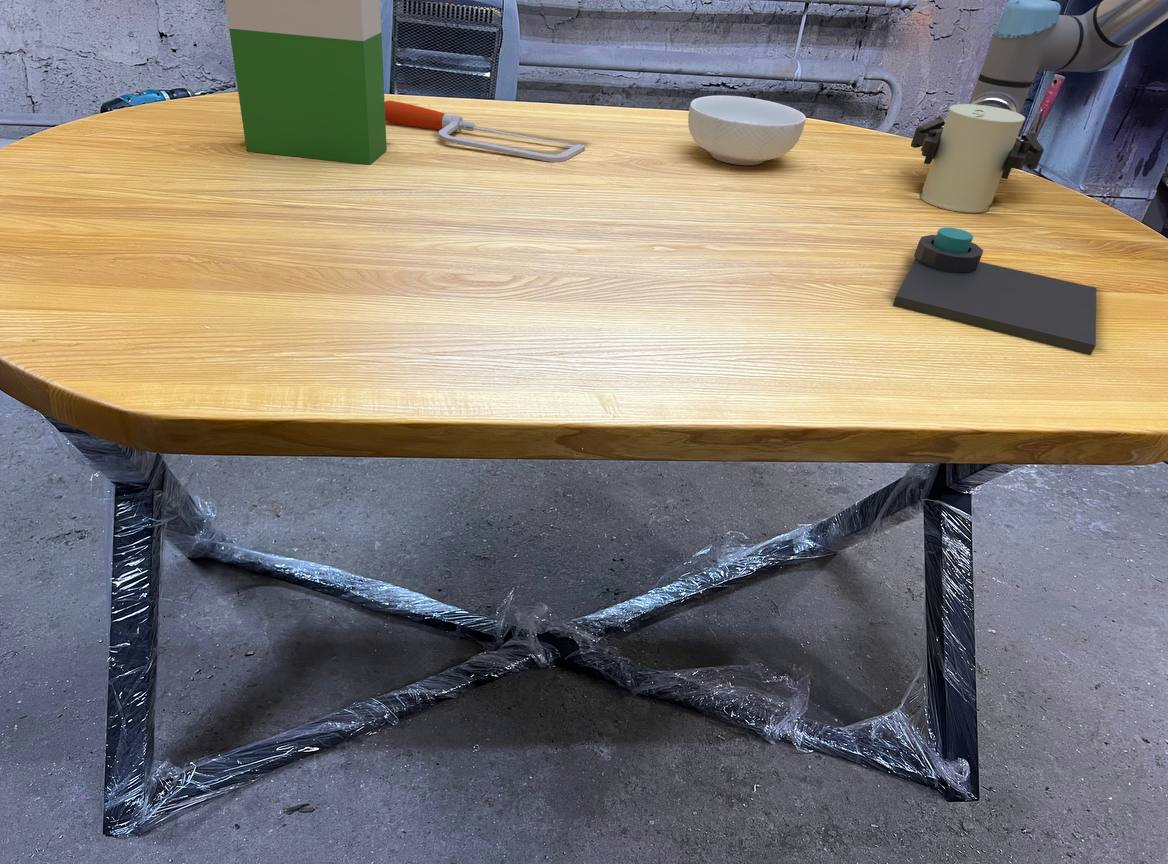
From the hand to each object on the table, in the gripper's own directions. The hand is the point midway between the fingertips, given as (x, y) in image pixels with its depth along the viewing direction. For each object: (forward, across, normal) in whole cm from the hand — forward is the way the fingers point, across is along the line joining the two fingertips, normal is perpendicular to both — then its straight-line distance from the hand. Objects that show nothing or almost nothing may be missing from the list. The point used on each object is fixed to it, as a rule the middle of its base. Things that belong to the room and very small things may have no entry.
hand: (968, 160), depth 106 cm
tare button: (+24, -2, -4) cm, 24 cm away
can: (-5, 0, -7) cm, 8 cm away
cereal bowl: (-5, +31, -7) cm, 32 cm away
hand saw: (+14, +66, -7) cm, 68 cm away
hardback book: (+33, +80, -7) cm, 87 cm away
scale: (+29, -8, -6) cm, 31 cm away
